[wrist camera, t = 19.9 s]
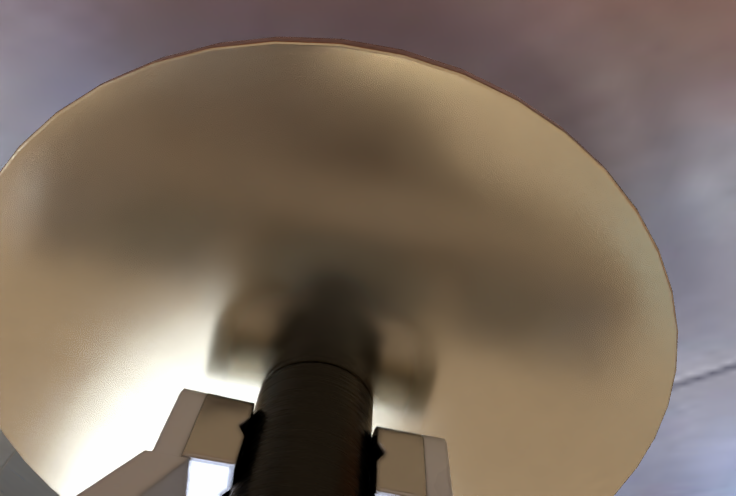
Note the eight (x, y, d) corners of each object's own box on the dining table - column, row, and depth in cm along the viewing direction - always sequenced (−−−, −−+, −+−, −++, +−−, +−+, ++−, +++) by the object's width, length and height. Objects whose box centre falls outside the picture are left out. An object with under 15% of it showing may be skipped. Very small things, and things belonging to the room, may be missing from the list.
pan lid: (-59, -72, 9) (-504, -85, 5) (809, 144, 10) (1134, 302, 6) (21, 511, 16) (-116, 721, 12) (513, 596, 18) (554, 815, 13)
